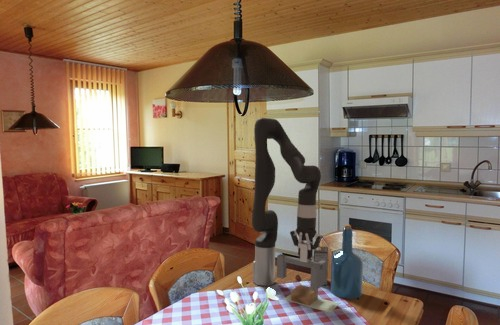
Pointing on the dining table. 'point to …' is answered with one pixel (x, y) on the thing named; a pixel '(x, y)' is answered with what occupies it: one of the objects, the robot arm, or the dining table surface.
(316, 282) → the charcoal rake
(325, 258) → the coffee box
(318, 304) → the sage mat
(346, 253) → the wine bottle
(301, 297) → the walnut block
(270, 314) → the dining table surface
